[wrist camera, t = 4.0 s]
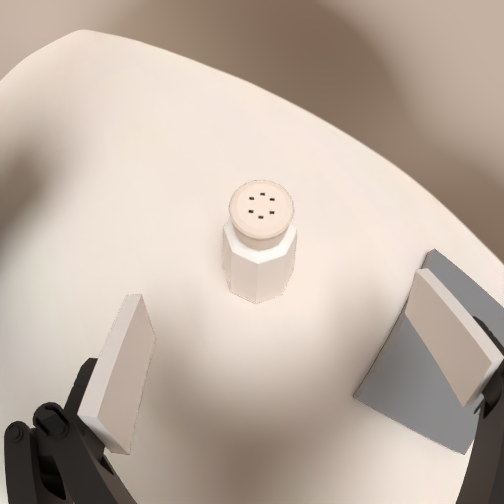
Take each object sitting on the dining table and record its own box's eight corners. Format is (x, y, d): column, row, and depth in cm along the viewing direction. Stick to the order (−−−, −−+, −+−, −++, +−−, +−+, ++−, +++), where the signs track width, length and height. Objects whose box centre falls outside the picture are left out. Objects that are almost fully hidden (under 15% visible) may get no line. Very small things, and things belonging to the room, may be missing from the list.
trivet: (352, 396, 20) (357, 399, 19) (427, 252, 23) (434, 248, 22) (457, 452, 18) (464, 454, 16) (513, 325, 21) (520, 324, 20)
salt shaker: (291, 306, 22) (326, 271, 12) (219, 302, 22) (189, 263, 12) (293, 238, 24) (322, 158, 13) (225, 234, 24) (206, 151, 13)
